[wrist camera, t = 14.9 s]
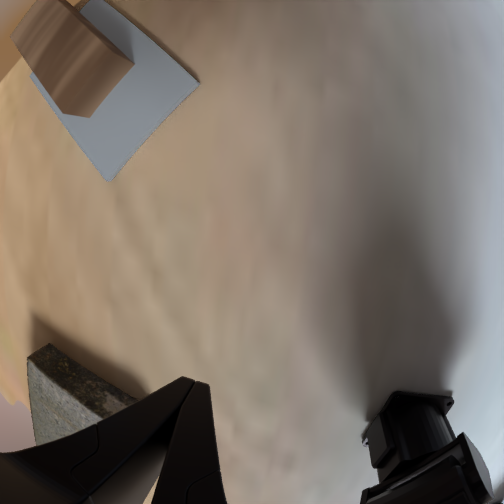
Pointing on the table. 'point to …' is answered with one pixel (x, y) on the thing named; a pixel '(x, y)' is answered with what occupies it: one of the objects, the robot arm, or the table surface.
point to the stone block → (67, 395)
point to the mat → (126, 94)
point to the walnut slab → (69, 56)
